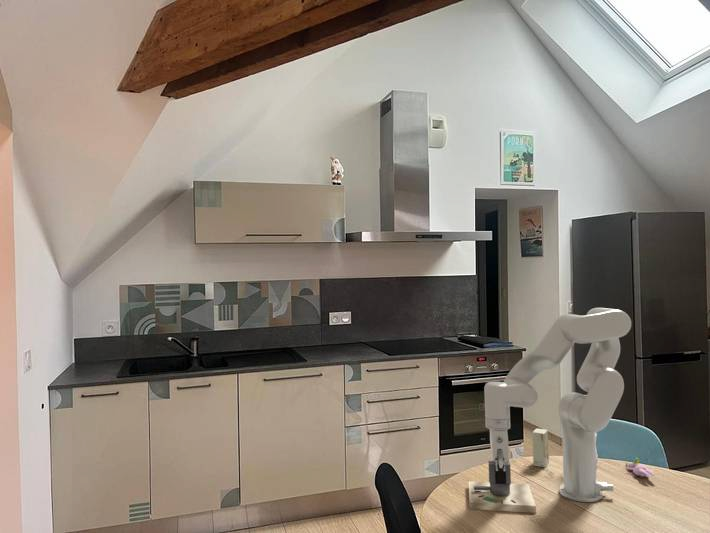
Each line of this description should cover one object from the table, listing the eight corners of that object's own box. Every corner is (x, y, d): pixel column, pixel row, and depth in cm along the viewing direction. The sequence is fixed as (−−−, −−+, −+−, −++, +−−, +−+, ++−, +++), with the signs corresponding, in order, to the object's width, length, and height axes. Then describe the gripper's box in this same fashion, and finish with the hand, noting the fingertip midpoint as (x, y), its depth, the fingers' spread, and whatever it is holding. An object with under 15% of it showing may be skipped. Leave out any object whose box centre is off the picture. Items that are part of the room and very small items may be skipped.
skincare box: (545, 468, 186) (544, 434, 186) (533, 466, 188) (531, 432, 188) (549, 462, 191) (548, 429, 191) (537, 460, 193) (536, 427, 194)
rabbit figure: (621, 471, 184) (642, 481, 169) (619, 454, 185) (639, 462, 170) (639, 471, 184) (661, 481, 169) (637, 454, 185) (659, 462, 170)
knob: (509, 488, 164) (508, 459, 164) (511, 496, 158) (510, 466, 158) (473, 486, 166) (472, 458, 166) (474, 494, 160) (473, 465, 160)
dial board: (528, 490, 167) (528, 483, 167) (536, 512, 152) (535, 505, 152) (468, 487, 171) (468, 480, 171) (469, 509, 155) (469, 501, 155)
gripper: (513, 431, 153) (515, 489, 152) (507, 415, 170) (509, 467, 169) (486, 430, 154) (488, 488, 154) (484, 414, 171) (485, 466, 171)
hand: (499, 477), depth 162 cm, fingers open, 9 cm apart
